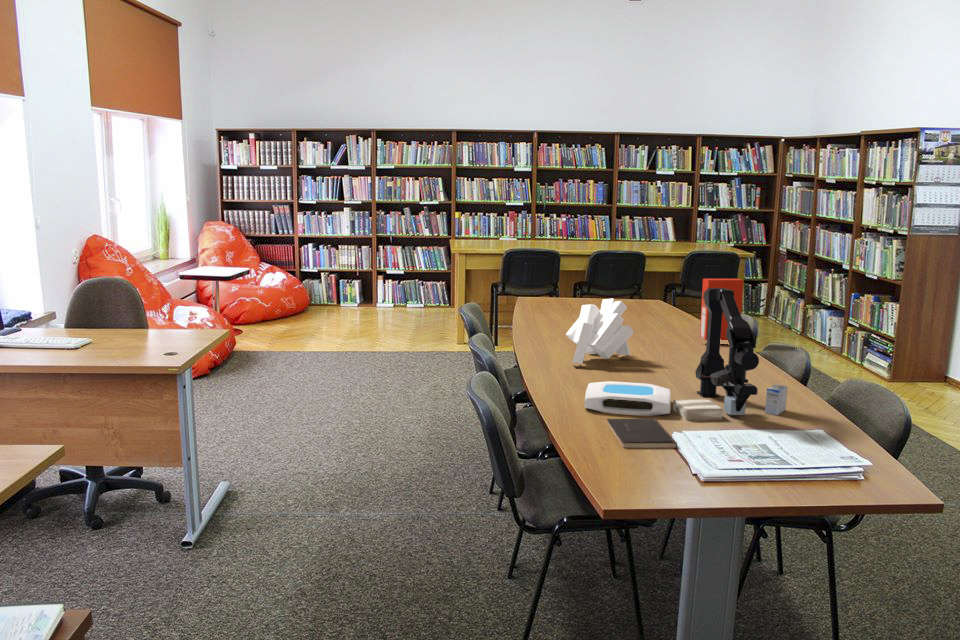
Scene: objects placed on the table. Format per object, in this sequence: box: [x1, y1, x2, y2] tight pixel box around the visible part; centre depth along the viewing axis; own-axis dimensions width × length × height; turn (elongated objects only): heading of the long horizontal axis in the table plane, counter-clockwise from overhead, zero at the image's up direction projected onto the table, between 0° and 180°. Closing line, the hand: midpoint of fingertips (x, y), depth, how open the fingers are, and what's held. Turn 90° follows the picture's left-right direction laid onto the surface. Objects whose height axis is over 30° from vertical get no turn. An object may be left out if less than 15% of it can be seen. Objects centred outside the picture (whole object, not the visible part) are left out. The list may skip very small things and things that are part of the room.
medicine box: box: [764, 383, 788, 416], centre depth 256 cm, size 8×4×9 cm, turn 141°
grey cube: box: [723, 395, 747, 416], centre depth 251 cm, size 5×5×5 cm
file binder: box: [699, 278, 744, 340], centre depth 373 cm, size 8×17×32 cm, turn 95°
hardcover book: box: [606, 418, 678, 449], centre depth 230 cm, size 16×23×2 cm
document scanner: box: [584, 380, 671, 417], centre depth 262 cm, size 21×28×6 cm
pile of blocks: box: [565, 297, 635, 365], centre depth 333 cm, size 35×30×35 cm
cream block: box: [672, 398, 723, 421], centre depth 252 cm, size 12×12×4 cm
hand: (734, 409), depth 252 cm, fingers closed on grey cube, 5 cm apart
